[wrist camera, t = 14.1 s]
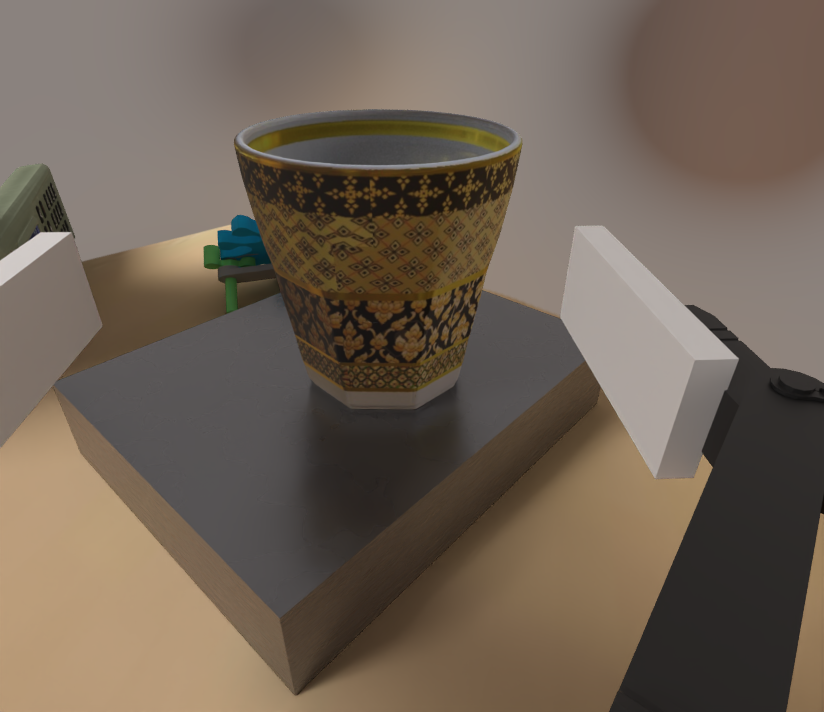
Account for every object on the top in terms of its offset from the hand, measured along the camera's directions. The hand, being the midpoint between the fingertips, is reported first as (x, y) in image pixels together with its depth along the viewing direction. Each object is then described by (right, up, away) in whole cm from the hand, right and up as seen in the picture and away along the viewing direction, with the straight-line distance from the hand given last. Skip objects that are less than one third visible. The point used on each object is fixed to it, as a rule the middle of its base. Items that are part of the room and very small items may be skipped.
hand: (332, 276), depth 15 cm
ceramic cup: (0, -2, +11) cm, 11 cm away
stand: (-1, -6, +13) cm, 14 cm away
